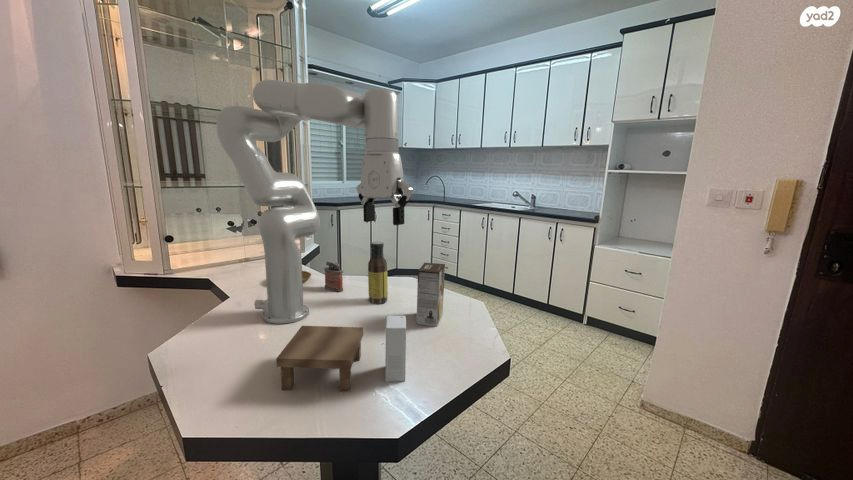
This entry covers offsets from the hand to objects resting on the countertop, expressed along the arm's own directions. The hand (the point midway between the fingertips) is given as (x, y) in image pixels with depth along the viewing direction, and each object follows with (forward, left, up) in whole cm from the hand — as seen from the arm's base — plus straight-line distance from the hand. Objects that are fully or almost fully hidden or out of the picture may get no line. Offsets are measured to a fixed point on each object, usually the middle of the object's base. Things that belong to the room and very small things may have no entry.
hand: (383, 222), depth 81 cm
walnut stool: (-11, -14, -30) cm, 35 cm away
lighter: (-22, +37, -31) cm, 53 cm away
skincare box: (+4, -14, -31) cm, 34 cm away
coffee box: (+12, +14, -31) cm, 36 cm away
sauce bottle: (-5, +27, -31) cm, 41 cm away
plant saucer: (-40, +44, -31) cm, 67 cm away
